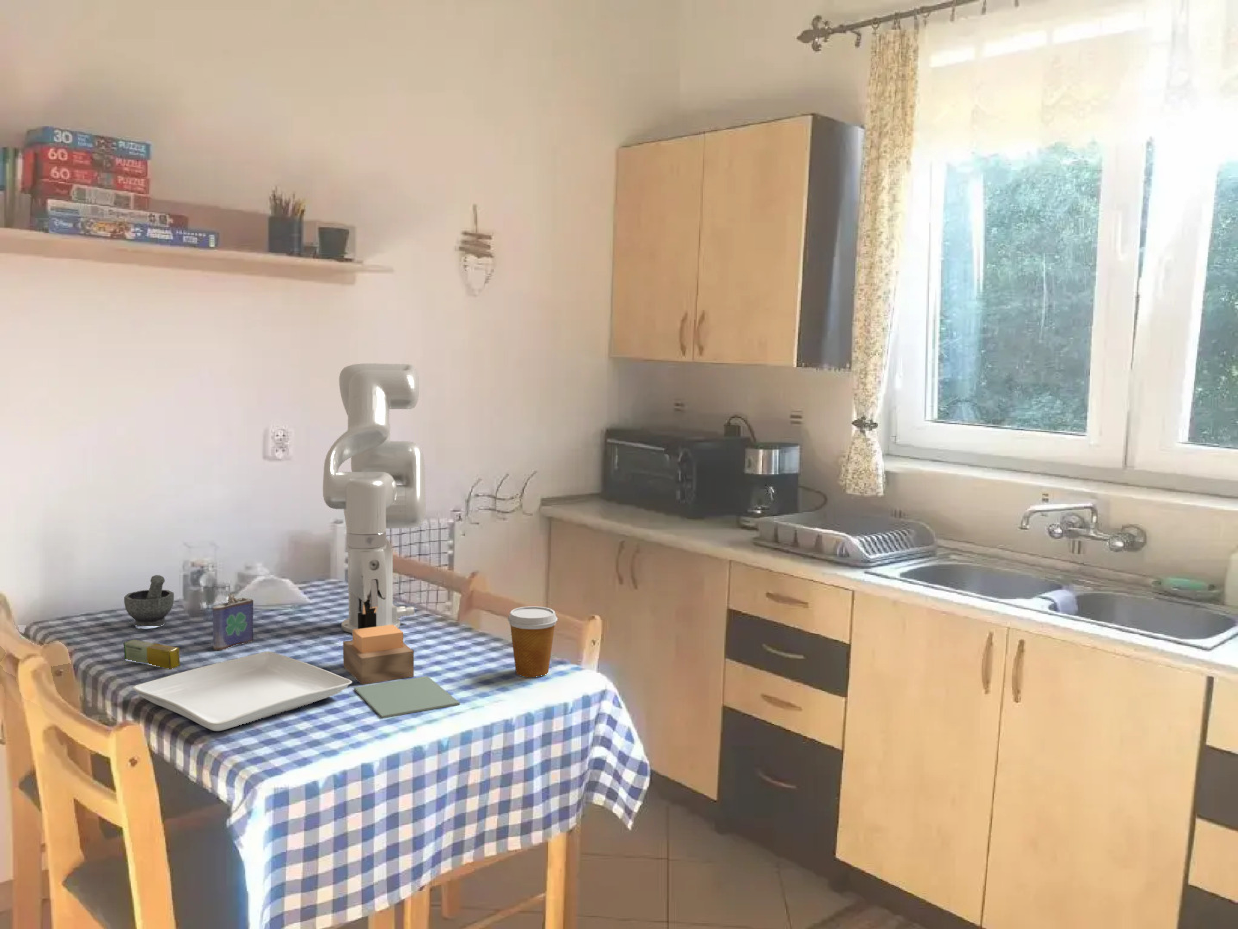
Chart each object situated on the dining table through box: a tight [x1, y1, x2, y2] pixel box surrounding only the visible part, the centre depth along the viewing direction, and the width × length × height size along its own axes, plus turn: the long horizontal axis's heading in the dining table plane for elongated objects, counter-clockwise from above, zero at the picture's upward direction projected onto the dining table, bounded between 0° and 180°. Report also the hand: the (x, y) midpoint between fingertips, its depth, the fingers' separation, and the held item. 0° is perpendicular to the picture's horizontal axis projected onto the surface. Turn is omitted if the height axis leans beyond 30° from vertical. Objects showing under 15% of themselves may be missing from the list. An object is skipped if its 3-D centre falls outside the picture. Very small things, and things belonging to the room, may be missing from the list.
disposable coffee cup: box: [507, 605, 558, 678], centre depth 199 cm, size 10×10×12 cm
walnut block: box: [342, 639, 415, 686], centre depth 198 cm, size 10×12×5 cm
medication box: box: [123, 639, 181, 670], centre depth 201 cm, size 12×3×4 cm, turn 68°
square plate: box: [131, 650, 353, 732], centre depth 182 cm, size 27×27×4 cm
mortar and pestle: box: [123, 574, 175, 626], centre depth 225 cm, size 11×9×12 cm
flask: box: [211, 593, 254, 651], centre depth 213 cm, size 9×3×11 cm, turn 146°
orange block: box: [352, 625, 404, 653], centre depth 198 cm, size 8×6×3 cm
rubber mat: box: [353, 675, 461, 719], centre depth 185 cm, size 14×16×1 cm
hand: (367, 632), depth 203 cm, fingers closed
